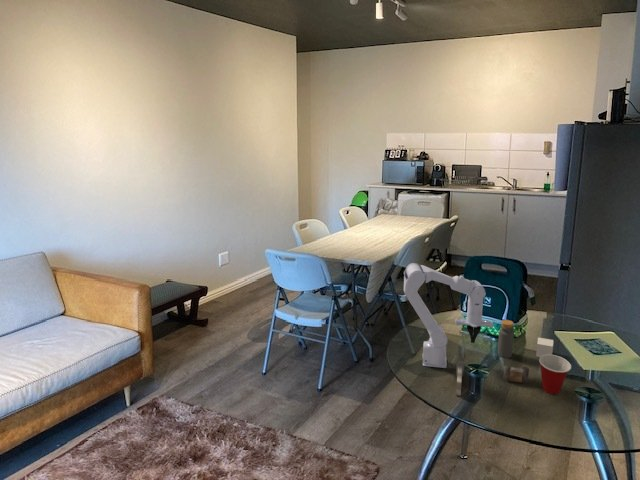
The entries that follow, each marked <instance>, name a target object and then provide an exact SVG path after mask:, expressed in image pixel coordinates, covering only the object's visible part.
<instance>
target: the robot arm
mask: <svg viewBox="0 0 640 480" xmlns="http://www.w3.org/2000/svg"><path fill="white" fill-rule="evenodd" d="M403 275H404V276H403V293H404V295H405V297H406V298H407V300H408V301H409V303H410V304H411V306H412V307H413V309H414V311H415V312H416V314H417V315H418V317H419V318H420V321H421V322H422V323H423V325H424V327H425V328H426V330H427V333H428V335H429V339H428V341H427V340H426V341H423V346H422V347H423V348H422V354H421V355H422V356H421V359H422V366H423V367H433V368H443V369H446V368H447V365H448V364H447V345H448V342H449V338H448V336H447V335H446V331H444V327H443V326H442V325H441V324H440V323H438V322H437V320H436V319H435V318H434V316H433V315H432V313H431V311H430V310H429V308H428V306H427V305H426V304H425V301H424V300H423V299H422V297H421V295H420V294H419V293H418V291H419V289H420V288H421V286H422V285H423V284H424V283H425V284H427V283H429V282H431V281H435V282H438V283H441V284H445V285H447V286H450V289H451V290H453V291H456V292H458V293H461V294H463V295H464V294H465V295H467V296H468V299H467V308H466V309H467V312H466V318H455V321H454V324H455V326H459V325H461V326H466V330H467V332H468V333H469V337H470V343H471V344H475V342H476V339H477V337H478V335H479V333H480V332H482V331H481V329H482V327H483V328H490V329H493V328H494V322H493V321H491V320H490V321H489V320H486V319H483V305H484V298H485V297H486V294H487V292H486V289H485V288H484V286H483V285H482V284H481V283H480V282H479V281H478V280H475V279H474V280H473V279H471V280H470V279H467V278H465V276H463V275H459V276H458V275H455V276H449V275H447V274H445V273H442V272H440V271H438V270H437V269H432V268H431V267H428V266H426V265H423V264H419V263H416V262H412V263H409V264H408V265H407V266H406V267H405V270H404V271H403Z"/></svg>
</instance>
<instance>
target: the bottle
mask: <svg viewBox="0 0 640 480" xmlns="http://www.w3.org/2000/svg"><path fill="white" fill-rule="evenodd" d="M514 328H515V327H514V321H512V320H509V319H502V320H501V324H500V329H499V331H498V341H497V342H498V343H497V355H498V354H499V355H500V356H499V355H498V356H499V357H501V356H502V357H501V358H504V357H505V358H506V359H509V358H511V357H512V356H513V349H514V340H515V338H514V336H515V333H514ZM505 358H504V359H505Z"/></svg>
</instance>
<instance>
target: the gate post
mask: <svg viewBox="0 0 640 480" xmlns="http://www.w3.org/2000/svg"><path fill="white" fill-rule="evenodd" d="M455 365H456V367H455V376H456V377H457V373H458V366H462V376H463V377H464V370H465V367H464V366H465V362H464V361H463V360H459V359H458V360H457V361H456V364H455Z"/></svg>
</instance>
